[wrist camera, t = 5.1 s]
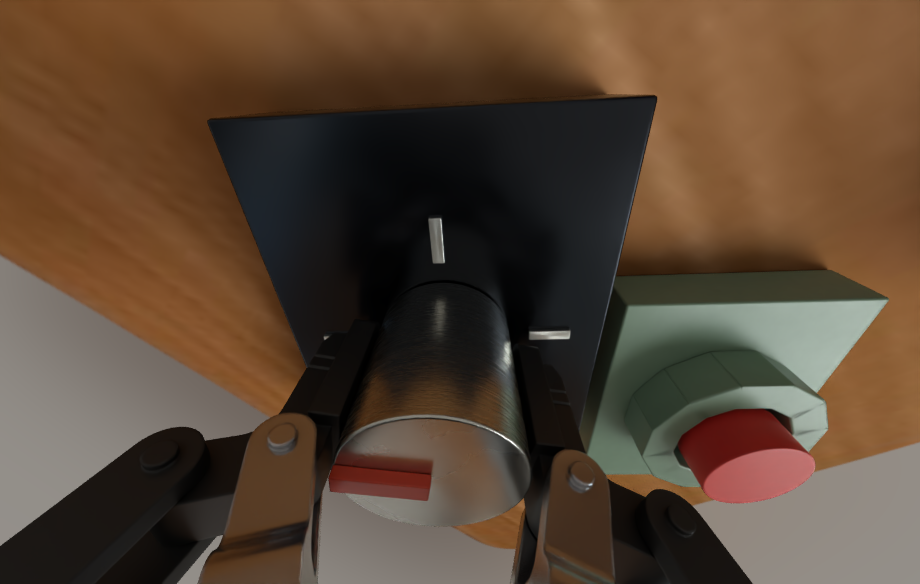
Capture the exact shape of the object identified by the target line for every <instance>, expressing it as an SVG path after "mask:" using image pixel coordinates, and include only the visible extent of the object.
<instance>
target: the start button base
mask: <svg viewBox="0 0 920 584" xmlns="http://www.w3.org/2000/svg"><path fill="white" fill-rule="evenodd" d="M888 301H889V298H888V297H885V296H883V295H881V294H879V293H877V292H875V291H873V290H871V289H869V288H867V287H865V286H863V285H861V284H859V283H857V282H855V281H853V280H851V279H849V278H847V277H845V276H843V275H841V274H839V273H837V272H834V271H832V270H808V271H776V272H743V273H710V274H677V275H644V276H616V277H615V281H614V286H613V290H612V294H611V298H610V303H609V307H608V311H607V315H606V320H605V324H604V328H603V332H602V337H601V341H600V345H599V349H598V354H597V358H596V362H595V366H594V371H593V375H592V379H591V383H590V388H589V392H588V396H587V400H586V405H585V409H584V413H583V417H582V422H581V426H580V430H579V433H580V436H581V440H582V443H583V446H584V449H585V452H586V454H587V455H588V456H590V457H591V458H592V459H593V460H595V461H596V462H597V464H598V465H599V466H600V467H601V468H602V470H603V471H604V473H605V474H652V475H653V476H655V477H657V478H660V479H662V480H665V481H668V482H671V483H674V484H676V485H679V486H684V487H701V486H700V484H699V483H698V481H697V479H696V478H695V476H694V474H693V472H692V471H691V469H690V467H689V466H688V464H687V462H686V461H685V459H684V457H683V456H682V454H681V452H680V450H679V448H678V442H679V440H680V438H681V436H682V435H683V434H684V433H686V432H687V431H688V430H690V429H691V428H693V427H694V426H696V425H697V424H699V423H700V422H702V421H703V420H704V419H706V418H708V417H712V416H715V415H718V414H721V413H724V412H728V411H731V410H734V409H765V410H767V411H769V412H770V413H771V414H772V415H774V417H775V418H776V419H777V420H778V421H779V422H780V423H781V424H782V425H783V426H784V427H785V428H786V429H787V430H788V431H789V432H790V433H791V435H792V436H793V437H794V438H795V439H796V440H797V441H798V442H799V443H800V444H801V445H802V446H803V447H804V448H805V449H806V450H807V451H808V452H809V451H810V449H811V448H812V447H813V446H814V445H815V444H816V443H817V441H818V440H819V439H820V438H821V437H822V436H823V435H824V434H825V432H826V431H827V430H828V419H827V407H826V402H825V401H824V399H823V398H822V397H821V396H819V395H818V394H817V392H818V391H819V389H820V388H821V387H822V386H823V384H824V383H825V382H826V380H827V379H828V378H829V377H830V375H831V374H832V373H833V371H834V370H835V369H836V368H837V366H838V365H839V364H840V362H841V361H842V360H843V359H844V357H845V356H846V355H847V353H848V352H849V351H850V350H851V348H852V347H853V346H854V344H855V343H856V342H857V341H858V339H859V338H860V337H861V335H862V334H863V333H864V331H865V330H866V329H867V328H868V326H869V325H870V324H871V322H872V321H873V320H874V319H875V317H876V316H877V315H878V313H879V312H880V311H881V310H882V308H883V307H884V306H885V304H886V303H887V302H888Z"/></svg>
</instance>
